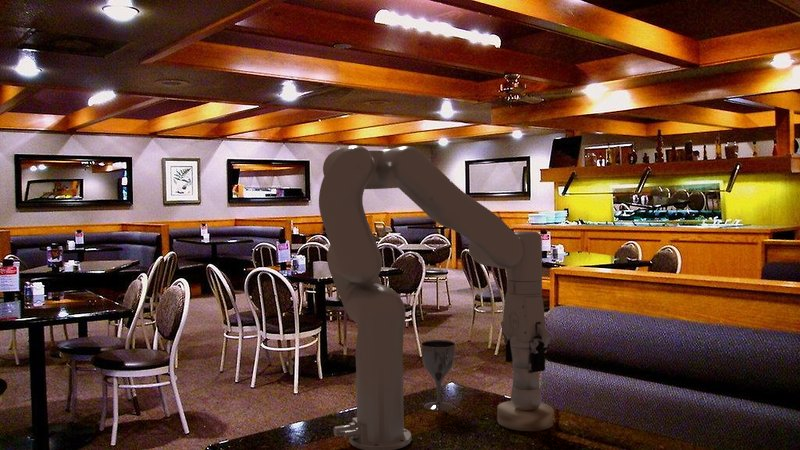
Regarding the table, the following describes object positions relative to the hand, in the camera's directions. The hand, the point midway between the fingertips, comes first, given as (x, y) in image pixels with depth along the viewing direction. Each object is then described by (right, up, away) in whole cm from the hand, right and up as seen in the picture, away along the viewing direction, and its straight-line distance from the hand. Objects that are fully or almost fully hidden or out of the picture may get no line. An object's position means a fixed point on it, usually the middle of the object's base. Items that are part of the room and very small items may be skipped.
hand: (524, 366), depth 146 cm
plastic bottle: (0, -10, 0) cm, 10 cm away
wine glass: (-18, -12, +12) cm, 25 cm away
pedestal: (0, -12, 0) cm, 12 cm away
